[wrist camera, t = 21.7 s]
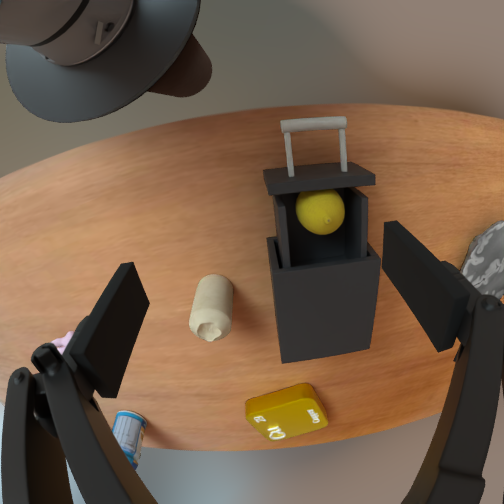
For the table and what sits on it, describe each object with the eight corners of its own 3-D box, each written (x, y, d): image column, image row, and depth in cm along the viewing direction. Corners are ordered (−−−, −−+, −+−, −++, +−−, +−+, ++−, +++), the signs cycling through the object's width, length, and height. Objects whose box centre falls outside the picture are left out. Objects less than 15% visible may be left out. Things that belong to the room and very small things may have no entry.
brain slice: (439, 253, 44) (448, 262, 41) (501, 204, 39) (511, 210, 37) (457, 320, 51) (463, 328, 48) (510, 276, 47) (517, 283, 44)
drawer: (256, 121, 34) (259, 123, 27) (348, 114, 33) (372, 116, 26) (274, 264, 43) (279, 297, 35) (352, 254, 42) (371, 283, 35)
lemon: (340, 206, 38) (361, 229, 30) (303, 226, 39) (316, 254, 32) (321, 169, 35) (340, 185, 28) (283, 191, 37) (292, 211, 29)
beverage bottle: (133, 407, 60) (115, 477, 43) (154, 425, 64) (141, 491, 46) (110, 410, 62) (90, 474, 44) (130, 427, 65) (115, 488, 47)
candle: (234, 274, 44) (231, 317, 35) (232, 304, 47) (230, 349, 38) (196, 272, 44) (185, 314, 35) (197, 302, 46) (188, 346, 37)
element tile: (327, 411, 62) (330, 427, 58) (269, 428, 64) (270, 444, 60) (308, 379, 56) (312, 398, 51) (241, 400, 58) (241, 418, 54)
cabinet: (266, 237, 42) (272, 273, 33) (354, 226, 41) (381, 258, 32) (275, 320, 48) (281, 363, 39) (351, 308, 48) (369, 348, 39)
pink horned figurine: (103, 315, 49) (46, 330, 48) (95, 335, 44) (36, 349, 43) (118, 340, 52) (62, 352, 51) (113, 361, 47) (54, 372, 46)
